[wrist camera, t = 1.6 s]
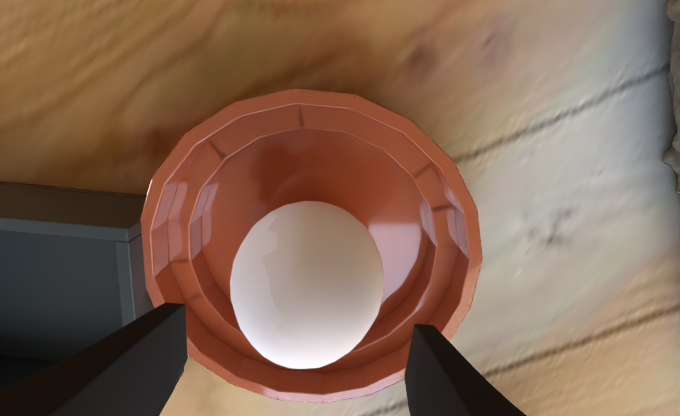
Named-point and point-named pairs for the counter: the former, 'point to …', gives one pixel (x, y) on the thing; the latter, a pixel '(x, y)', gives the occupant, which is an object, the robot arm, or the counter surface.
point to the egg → (306, 284)
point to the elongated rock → (674, 87)
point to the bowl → (323, 186)
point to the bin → (65, 273)
